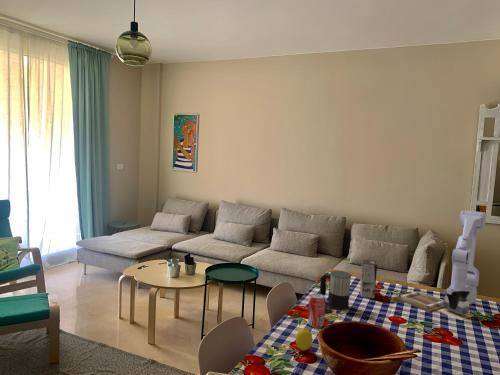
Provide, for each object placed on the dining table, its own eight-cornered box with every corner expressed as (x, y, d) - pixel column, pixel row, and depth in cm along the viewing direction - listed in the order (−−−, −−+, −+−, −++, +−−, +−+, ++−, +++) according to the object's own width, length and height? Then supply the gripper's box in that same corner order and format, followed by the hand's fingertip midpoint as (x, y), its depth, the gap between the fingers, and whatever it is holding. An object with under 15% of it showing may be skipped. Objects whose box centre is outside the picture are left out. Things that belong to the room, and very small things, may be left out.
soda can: (314, 329, 151) (316, 299, 150) (304, 323, 157) (306, 293, 156) (327, 327, 154) (329, 297, 153) (317, 320, 160) (319, 291, 159)
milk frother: (350, 304, 179) (352, 272, 178) (346, 317, 165) (349, 282, 163) (318, 299, 184) (320, 267, 183) (312, 311, 169) (314, 277, 168)
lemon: (293, 346, 137) (295, 324, 137) (309, 346, 138) (310, 324, 137) (296, 354, 132) (298, 331, 131) (313, 354, 132) (314, 331, 132)
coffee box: (375, 298, 188) (377, 265, 187) (360, 296, 190) (363, 263, 188) (373, 292, 197) (375, 260, 196) (359, 290, 199) (362, 259, 197)
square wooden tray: (416, 295, 196) (416, 289, 196) (451, 308, 181) (452, 301, 181) (393, 301, 186) (393, 295, 186) (429, 315, 171) (429, 308, 171)
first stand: (449, 309, 179) (450, 306, 179) (474, 318, 170) (475, 315, 170) (436, 314, 173) (436, 310, 173) (461, 323, 164) (461, 320, 164)
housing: (450, 306, 176) (451, 293, 176) (468, 312, 169) (469, 300, 169) (443, 308, 173) (445, 295, 173) (462, 314, 167) (463, 302, 166)
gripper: (459, 282, 163) (456, 314, 164) (477, 277, 171) (474, 307, 172) (442, 277, 168) (440, 308, 170) (461, 272, 177) (458, 302, 178)
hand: (456, 307), depth 171 cm, fingers closed on housing, 5 cm apart
